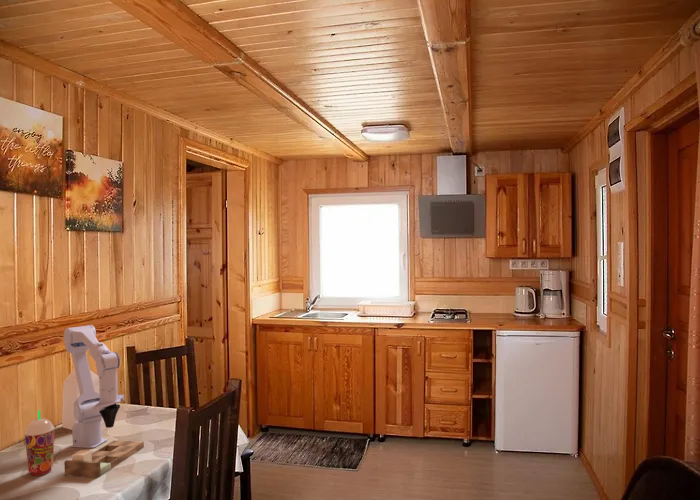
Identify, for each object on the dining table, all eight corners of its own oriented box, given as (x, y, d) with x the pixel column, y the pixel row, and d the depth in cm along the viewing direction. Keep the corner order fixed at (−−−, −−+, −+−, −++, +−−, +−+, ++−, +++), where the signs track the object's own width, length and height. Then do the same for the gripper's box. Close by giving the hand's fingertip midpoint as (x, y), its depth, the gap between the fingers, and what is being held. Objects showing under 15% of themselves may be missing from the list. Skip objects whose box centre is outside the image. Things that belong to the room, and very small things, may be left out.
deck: (64, 475, 160) (64, 461, 160) (114, 446, 184) (113, 433, 184) (98, 477, 158) (98, 463, 158) (143, 447, 182) (143, 434, 182)
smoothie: (33, 480, 158) (31, 416, 158) (20, 474, 162) (18, 412, 162) (61, 469, 165) (59, 408, 165) (47, 464, 169) (45, 405, 169)
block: (72, 467, 162) (72, 454, 162) (80, 462, 166) (80, 450, 166) (83, 467, 161) (83, 455, 161) (92, 462, 165) (91, 450, 165)
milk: (105, 423, 211) (103, 360, 211) (78, 431, 201) (76, 366, 201) (89, 418, 217) (87, 358, 217) (62, 427, 208) (60, 363, 208)
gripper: (105, 394, 169) (106, 434, 169) (131, 382, 183) (132, 420, 183) (86, 393, 170) (87, 434, 170) (114, 382, 184) (115, 419, 184)
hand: (109, 426), depth 177 cm, fingers closed
